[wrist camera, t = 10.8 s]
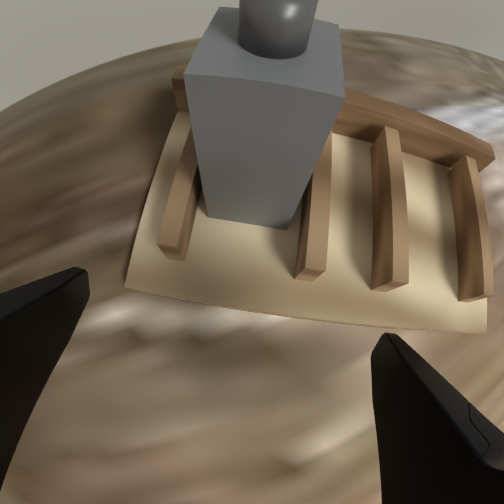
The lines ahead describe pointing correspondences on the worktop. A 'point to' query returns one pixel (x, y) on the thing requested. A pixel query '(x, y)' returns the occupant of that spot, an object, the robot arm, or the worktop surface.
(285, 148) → the grey knobbed block
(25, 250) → the worktop surface
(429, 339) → the worktop surface
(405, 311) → the wooden dish rack
